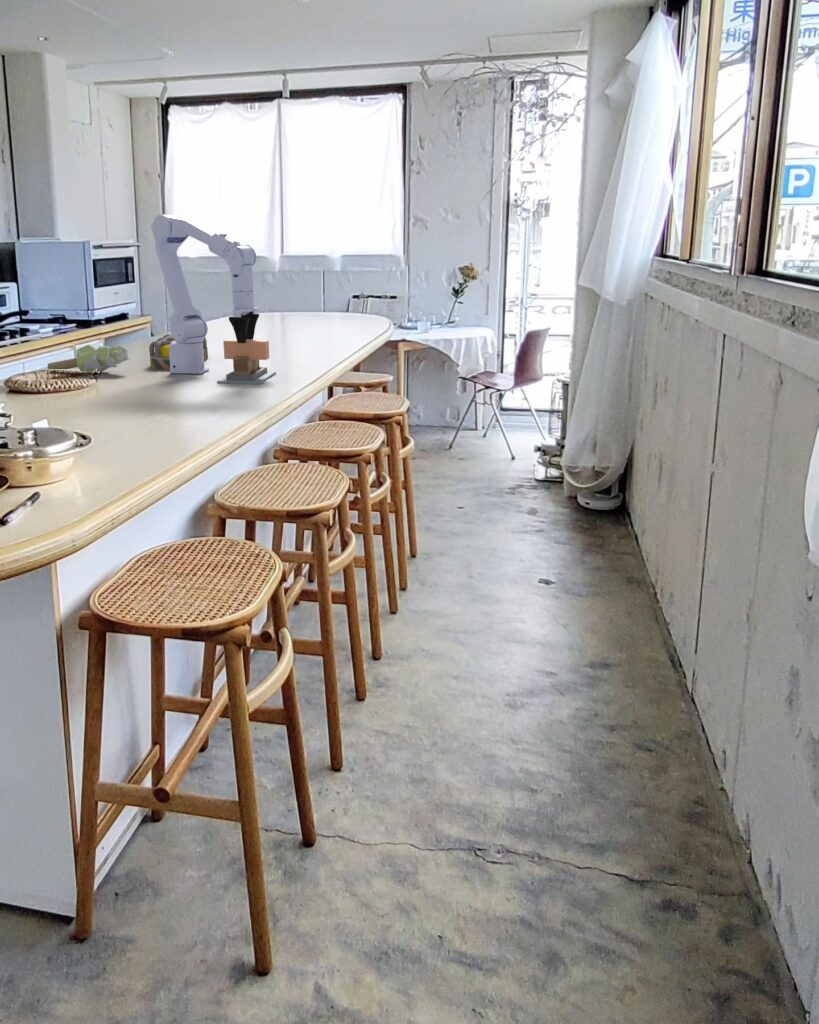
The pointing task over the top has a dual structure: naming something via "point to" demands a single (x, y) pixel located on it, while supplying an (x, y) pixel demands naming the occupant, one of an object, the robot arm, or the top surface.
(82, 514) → the top surface
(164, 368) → the cage light
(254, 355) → the salmon pink cuboid
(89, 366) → the decorative object
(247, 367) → the tan notched block
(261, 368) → the jig
